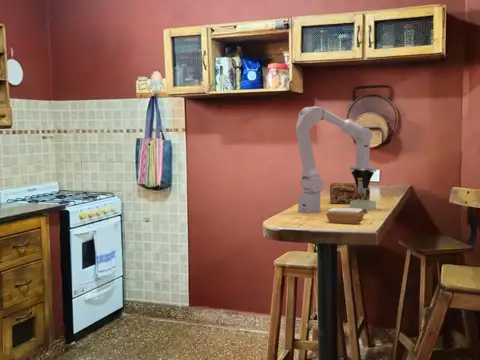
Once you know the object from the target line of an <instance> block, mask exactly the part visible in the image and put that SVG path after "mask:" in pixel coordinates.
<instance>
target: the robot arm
mask: <svg viewBox="0 0 480 360" xmlns="http://www.w3.org/2000/svg"><path fill="white" fill-rule="evenodd" d="M320 121H326V122H327V123H329V124H332V125H333V126H336V127H339V129H340V131H341V132H343V133H344V134H345V135H348V136H350V137H352V138H353V139H354V140H355V165H349V171H351V175H352V177H353V179H354V183H356V187H357V188H358V180H357V178H362V180H363V188H368V187H370V181H371V179H372V177H373V175H374V173H375V172H377V167H376V166H371V165H370V159H371V158H370V156H371V155H370V151H371V146H370V145H371V140H372V139H373V137H374V135H373V132H372V130H371V129H370V128H369V127H363V125H362V124H360V123H359V124H358V123H356V122H355V121H354V119H352V118H347V119H342V118H341V117H339V116H338V115H336V114H334V113H332V112H330V111H329V110H327V109H325V108H323V107H320V106H318V105H314V106H307V107H303V108H302V109H301V110H300V111H299V113H298V118H297V121H296V125H295V133H296V138H297V139H296V140H297V144H298V151H299V155H300V160H301V165H302V166H301V167H302V170H301V171H302V172H301V174H300V175H301V180H300V187H301V188H302V189H303V190H302V193H301V194H300V195H299V197H298V198H297V199H298V200H297V201H298V203H297V204H298V205H297V206H298V208H297V212H298V213H305V214H314V213H320V212H321V191H322V189H323V187H324V180H323V179H322V178H321V175H320V173H319V171H318V170H317V167H316V162H315V156H314V150H313V146H312V145H313V144H312V140H311V134H310V130H311V129H312V127H314V125H316V124H317V123H319V122H320Z"/></svg>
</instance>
